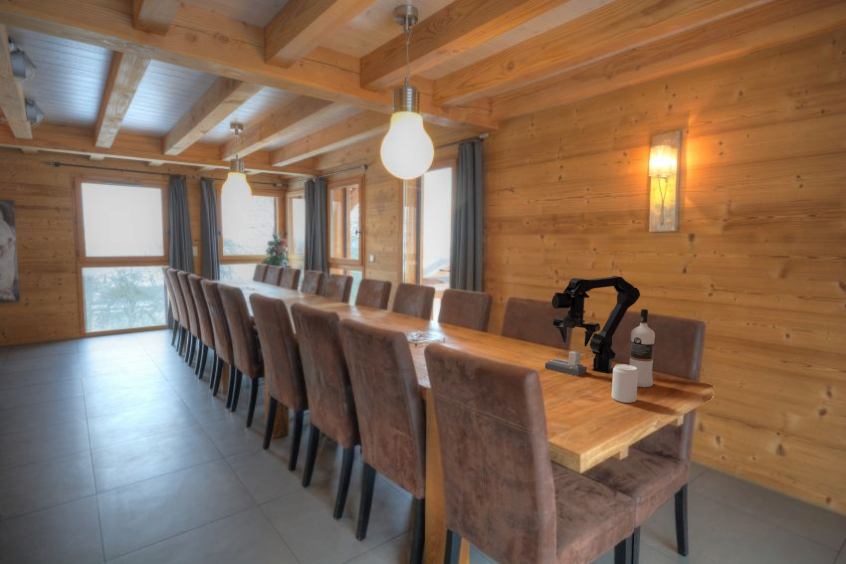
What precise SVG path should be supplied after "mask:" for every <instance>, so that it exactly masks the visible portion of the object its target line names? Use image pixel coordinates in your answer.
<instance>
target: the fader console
mask: <svg viewBox="0 0 846 564" xmlns="http://www.w3.org/2000/svg"><path fill="white" fill-rule="evenodd" d="M568 362H569V360H565V359H559V358H553V359H550V360H548V361H546V362H545V363H544V369H545V368H546V369H545V370H549V369H551V370H550V371H553V370H555V371H554V372H557V371H559V373H562V372H564V373H563V374H566V373H568V374H567V375H570V374H572V375H571V376H574V375H576V376H575V377H580V376H582V375H583V373H584V374H586V373H587V366H586V365H584V364H583V363H580V364H577V366H575V365H571V364H568ZM585 372H586V373H585ZM581 374H582V375H581ZM579 375H580V376H579Z"/></svg>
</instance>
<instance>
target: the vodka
mask: <svg viewBox="0 0 846 564" xmlns="http://www.w3.org/2000/svg"><path fill="white" fill-rule="evenodd" d="M639 318H640V320H639V321H640V322H639V325H638V326H636V327H635V328H633V329H631V332H630V354H629V355H630V357H629V365H631V366H634V367H636V368H637V371H638V383H637V388H642V387H643V388H646V387H647V388H650V387H652V386H653V385H654V379H653V365H654V364H653V363H654V348H655V347H654V344H655V339H656V338H655V337H656V333H655V331H654V330H653V329H652V328H650V327H649V326H648V319H649V309H646V308H641V309H640V317H639Z"/></svg>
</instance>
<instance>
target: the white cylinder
mask: <svg viewBox="0 0 846 564" xmlns="http://www.w3.org/2000/svg"><path fill="white" fill-rule="evenodd" d="M612 369H613V370H612V380H611V381H612V384H611V398H612V399H613V400H615V401H617V402H620V403H623V404H632V403H635V402H636V401H637V395H638V387H637V383H638V371H637V368H636V367H634V366H631V365H630V364H625V363H624V364H623V363H617V364H615V365H614V367H613V368H612Z"/></svg>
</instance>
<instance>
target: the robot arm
mask: <svg viewBox="0 0 846 564" xmlns="http://www.w3.org/2000/svg"><path fill="white" fill-rule="evenodd" d="M607 287H613V288H614V290H615V291H616V292H617V296H616V304H615V306H614V308H613V310H612V311H611V313H610V315H609V317H608V318H607V320H606V322H605V324H604V326H603V328H602V330H601V325H600V323H596V322H592V321H591V322H588V323H585V320H584V319H585V318H584V315H585V313H586V310H585V299H586V298H587V299H589V298H590V295H588V294H587V292H590V291H591V290H594V289H599V288H600V289H602V288H607ZM640 297H641V293H640V290H639V288H638V287H635V286H634V285H633V284H631V283H629V282H628V281H626V280H625V279H624V278H623V277H622V276H618V275H612V276H606V277H599V278H598V277H596V278H589V279H588V278H577V277H573V278H570V280H569V282H568V285H567V286H566V287H565V288H564V290H563V292H558V291H557V292H556V291H555V292H554V295H553V297H552V299H551V306H552V307H553V309H555V310H557V309H559V310H560V309H566V310H567V309H569V310H568V311H567V314H566V316H564V317H563V318H562V317H557V318H553V320H552V326H554V327H555V328H556V329H558V331H559V332H560V335H561V338H562V341H563V343H564V344H566V343H567V337H568V336H567V335H568V328H569V329H574V328H576V327H577V328H581V329H582V328H583V329H585V331H584V335H585V336H584V343H583V344H584V347H587V346H588V344H589V348H590V349H591V351H592V354H593V355H594V358H593V365H592V370H594V371H597V372H601V373H607V374H608V373H610V372H611V371H612V372H613V368H612V365H613V363H612V361H613V359H615V357H616V352H615V351H614V350H613V349H612V346H613V336H614V334H615V333H616V331H617V330H618V327H619V326H620V323H621V321H622V320H623V318H624V317H625V315H626V313H627V311H628V309H629V308H630V307H632V306H633V305H634V304H636V302H637V301H638V300H639V298H640ZM600 330H601V331H600ZM599 331H600V332H599ZM597 332H598V333H597Z"/></svg>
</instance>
